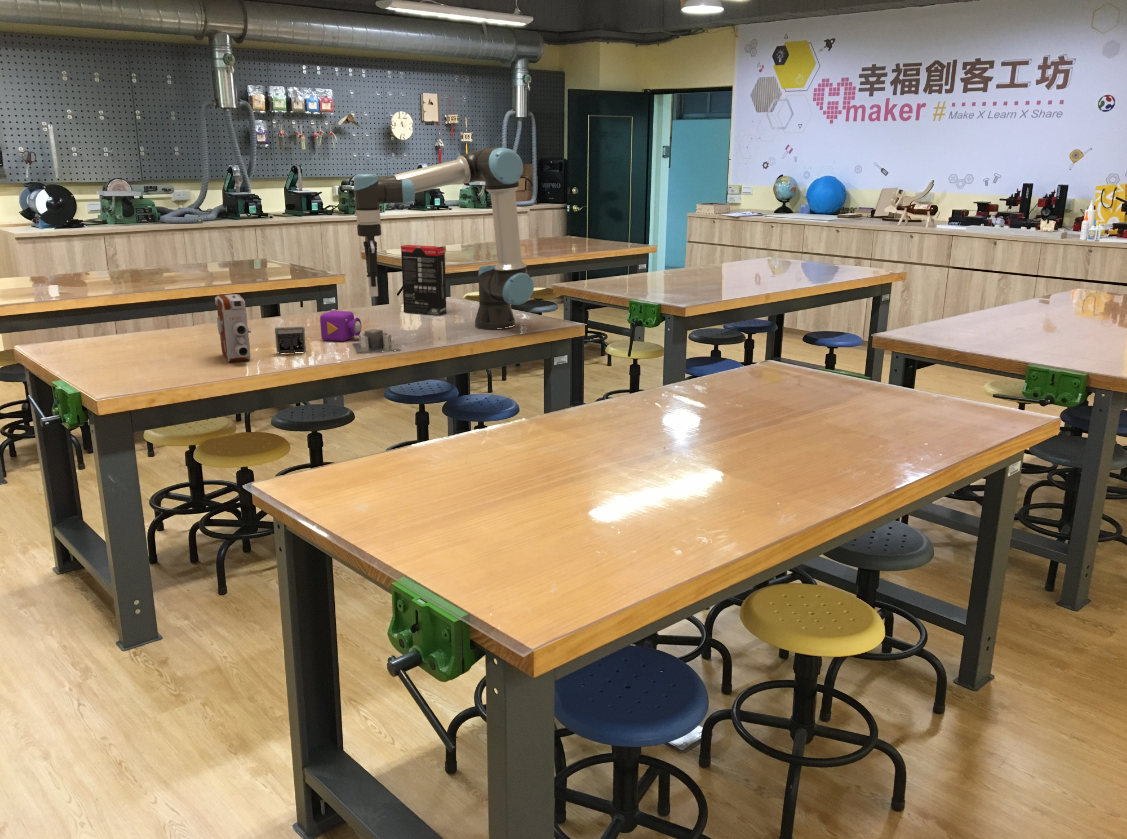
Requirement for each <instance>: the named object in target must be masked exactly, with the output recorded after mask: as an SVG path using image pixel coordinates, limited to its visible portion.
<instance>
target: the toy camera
mask: <svg viewBox="0 0 1127 839" xmlns="http://www.w3.org/2000/svg"><path fill="white" fill-rule="evenodd" d="M354 314H355V313H353V312H352V311H350V310H349V311H348V310H347V311H346V310H337V309H335V308H333V309H331V310H330V311H326V312H324V313H323V314H321V315H320V316H319V323H320V325H319V327H320V335H321V339H322V340H323V341H326V340H327V341H330V342H346V341H348V340H350V339H352V338H354V337H355V336H356V337H359V335H360V334H361V332H362V322H361V321H362V320H361V319H360V317H355V315H354ZM327 341H326V342H327Z"/></svg>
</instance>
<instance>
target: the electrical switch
mask: <svg viewBox="0 0 1127 839" xmlns="http://www.w3.org/2000/svg"><path fill="white" fill-rule="evenodd" d="M305 328H306V327H305V326H304V325H288V326H287V325H285V326H276V327H275V328H274V335H275V336H274V337H275V344H276V346H275V347H276V352H277V353H278V352H279V353H278V354H279V355H280V353H295V352H304V351H305V352H306V351H307V345H306V335H305V334H306V333H305V330H306V329H305ZM294 351H295V352H294ZM305 352H304V353H305Z"/></svg>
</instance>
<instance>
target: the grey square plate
mask: <svg viewBox="0 0 1127 839" xmlns="http://www.w3.org/2000/svg"><path fill="white" fill-rule="evenodd" d="M358 337H359V342H356V343H355V342H353V343H352V344H351V345H352V347H353V349H354V351H355V350H356V351H355V352H356V354H357V353H361V354H371V352H376V353H383V352H382V351H391V352H395V351H394V350H400V351H401V348H400V347H399V346H398V344H397V343H396V342H395V341H394V340H392V333H391V332H388V331H383V342H384V346H383V347H380V348H369V345H368V337H367V336H365V332H362V333H360V335H359V336H358ZM369 352H370V353H369Z"/></svg>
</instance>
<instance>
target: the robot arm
mask: <svg viewBox="0 0 1127 839" xmlns="http://www.w3.org/2000/svg"><path fill="white" fill-rule="evenodd" d="M523 172H524V164H523V160H522V158H521V157H520V155H519V154H518V153H517V152H516V151H515V150H513V149H511V148H506V147H484V148H480V149H477V150H474V151H472V152H468V153H465V154H462V155H458V157H457V158H456V159H454V160H449V161H446V162H445V161H444V162H442V163H437V164H434V165H430V166H429V165H428V166H425V167H421V168H416V169H412V170H408V171H404V172H400V173H396V174H393V175H388V176H383V177H378V175H377V174H376V173H358V174H355V175H354V177H353V192H354V204H355V213H353V214H354V216H355V217H356V222H357V223H358V224H357V226H356V228H357V232H356V233H357V236H358V237H363V238H364V241H363V242H362V244H363V247H364V254H365V264H366V266H365V267H366V273H367V274H366V278H367V279H368V295H369V297H372V298H373V297H379V287H378V285H379V284H378V276H379V272H378V243H377V241H376V239H375V237H379V236H381V235H382V226H381V223H380V222H381V209H380V205H385V204H386V205H387V204H407V203H412V202H413V201H414V200H415V197H416V193H421V192H425V191H429V190H432V189H437V188H441V187H445V186H448V185H449V186H450V185H453V184H458V183H461V182H463V183H464V184H469V183H475V182H482V183H483V182H484V185H485V190H486V192H488V193H489V194H490V199H491V209H492V217H493V218H492V220H493V228H494V230H493V231H494V239H495V249H496V258H497V263H496V264H491V265H490V264H489V265H481V266H479V268H478V275H477V278H478V300H479V301H478V302H479V305H478V309H477V312H476V315H475V320H474V324H475V325H474V326H475V327H476V328H477V329H481V328H483V330H498V329H497V328H505V327H509V326H513V325H515V326H516V319H515V316H514V313H513V312H514V311H513V309H512V306H511V305H513V306H514V305H515V306H519V305H523V304H525V303H527V302H528V301H529V300H530V298H531V297H532V295H533V293H534V289H535V283H534V281H533V278H531V276H530V275H529V274H528V268H527V267H528V266H527V264H526V262H524V261H523V259H522V258H523V257H522V251H521V250H522V248H521V239H520V229H519V220H518V219H519V217H518V208H517V197H516V193H517V190H518V189H519V188H520V183H519V180H520V179H521V177H522V175H523Z"/></svg>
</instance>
